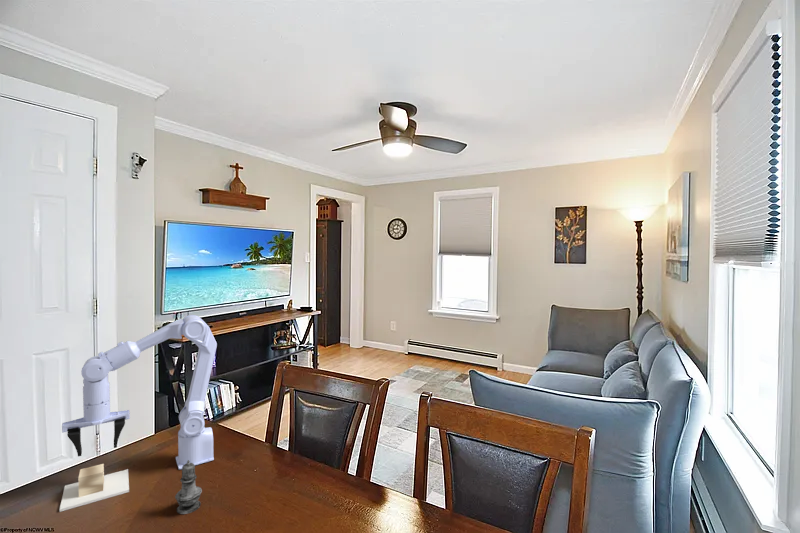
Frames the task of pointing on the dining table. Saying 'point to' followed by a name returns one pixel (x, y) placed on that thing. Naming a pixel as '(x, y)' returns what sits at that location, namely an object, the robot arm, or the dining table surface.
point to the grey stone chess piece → (188, 490)
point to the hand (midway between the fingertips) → (97, 450)
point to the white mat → (112, 487)
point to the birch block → (91, 480)
